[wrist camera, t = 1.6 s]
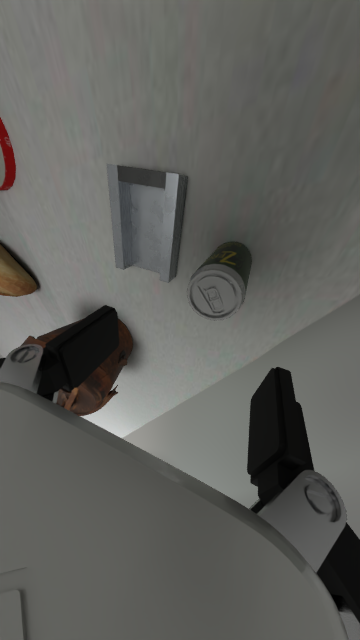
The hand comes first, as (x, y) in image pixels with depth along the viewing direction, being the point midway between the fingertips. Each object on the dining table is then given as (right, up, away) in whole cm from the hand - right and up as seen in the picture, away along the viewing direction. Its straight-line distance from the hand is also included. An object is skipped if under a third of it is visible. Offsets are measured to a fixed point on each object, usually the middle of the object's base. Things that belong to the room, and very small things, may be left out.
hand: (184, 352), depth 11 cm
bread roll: (-41, +15, +34) cm, 55 cm away
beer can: (+7, +10, +15) cm, 20 cm away
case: (-17, -2, +35) cm, 39 cm away
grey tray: (-5, +16, +16) cm, 23 cm away
